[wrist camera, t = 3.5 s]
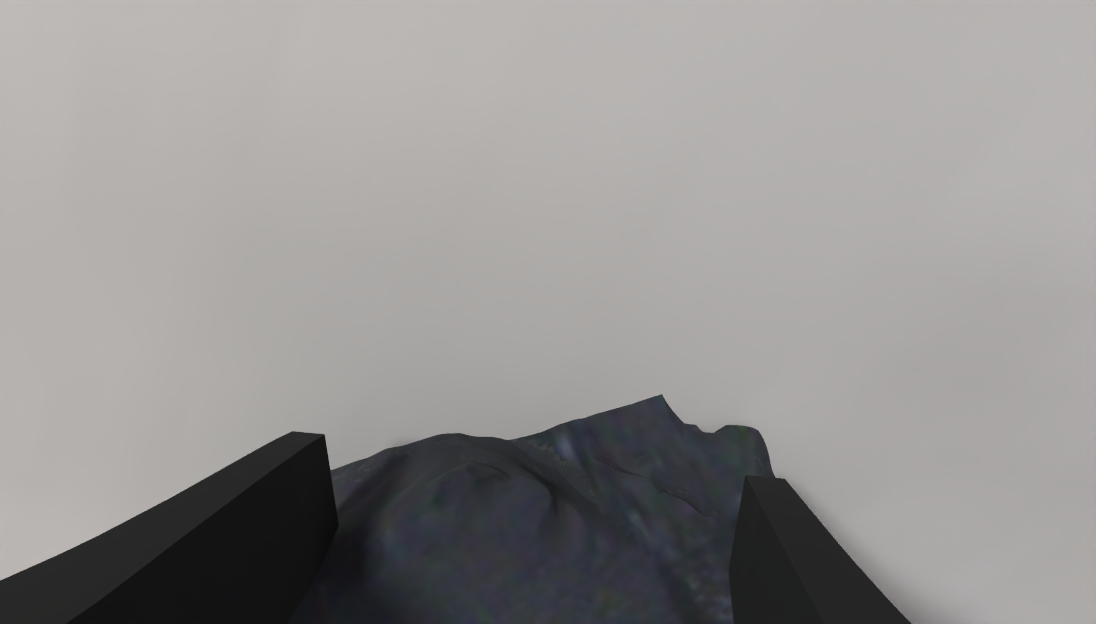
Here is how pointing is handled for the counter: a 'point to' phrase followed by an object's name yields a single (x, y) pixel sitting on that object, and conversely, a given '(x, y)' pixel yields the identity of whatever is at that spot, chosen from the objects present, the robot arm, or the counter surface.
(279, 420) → the counter surface
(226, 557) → the robot arm
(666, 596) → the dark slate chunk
